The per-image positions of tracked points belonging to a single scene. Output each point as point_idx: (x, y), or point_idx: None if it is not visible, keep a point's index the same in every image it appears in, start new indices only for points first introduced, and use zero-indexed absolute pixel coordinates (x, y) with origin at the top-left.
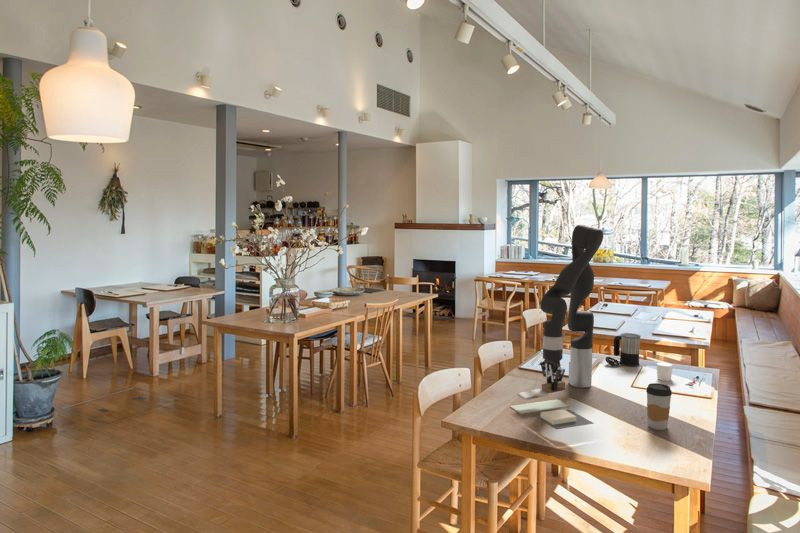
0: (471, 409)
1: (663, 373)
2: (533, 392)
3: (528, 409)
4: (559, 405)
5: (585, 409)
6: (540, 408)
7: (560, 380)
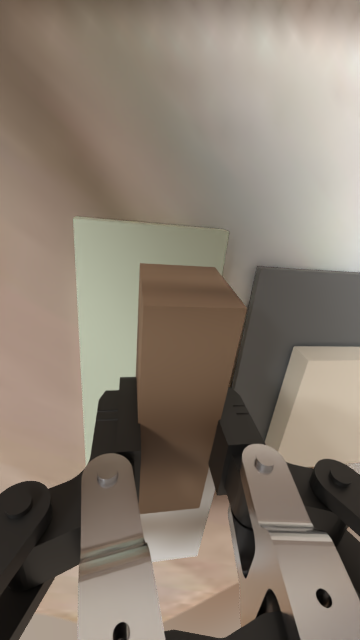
0: (49, 593)
1: None
2: (148, 514)
3: None
4: None
5: (298, 134)
6: None
7: (353, 486)
